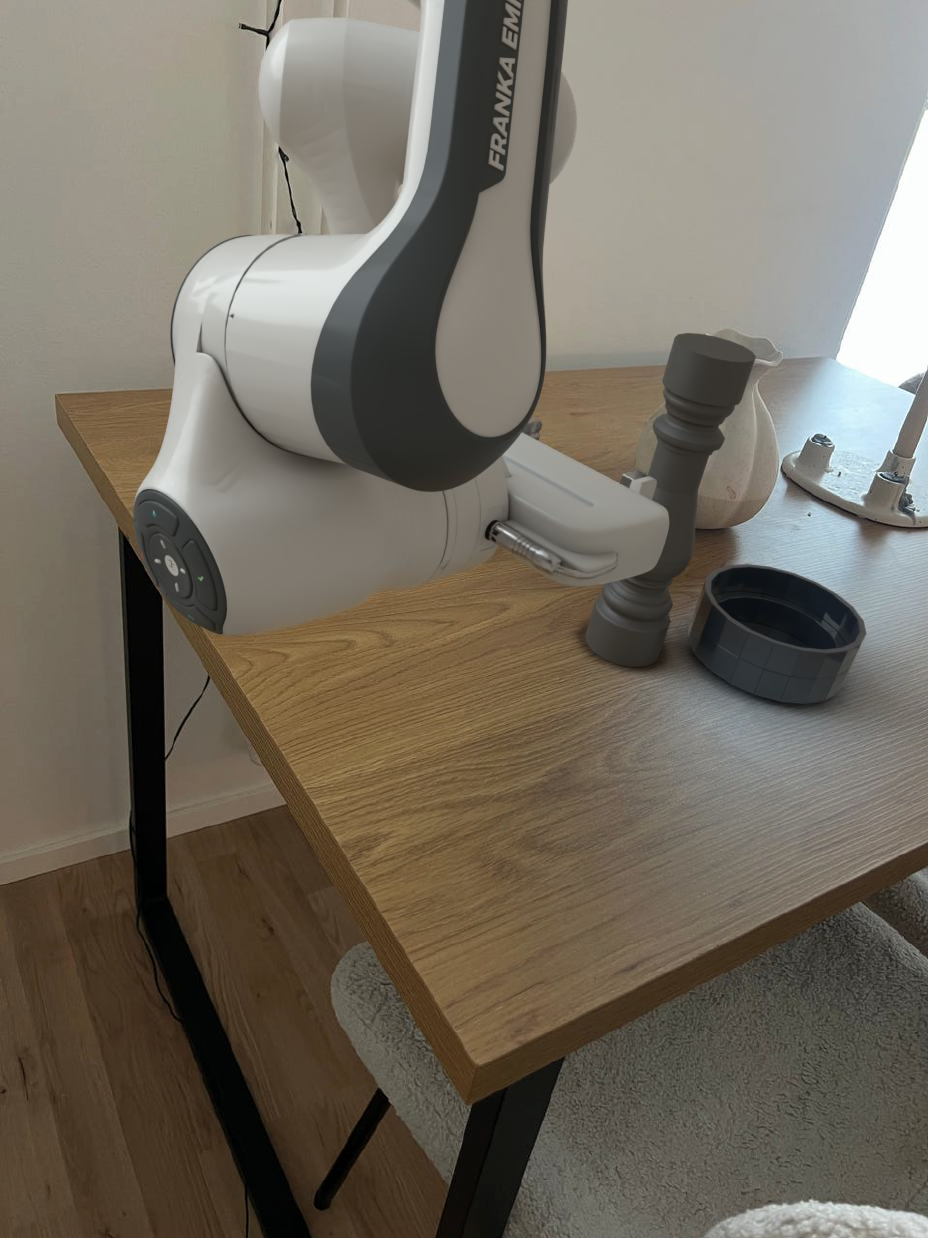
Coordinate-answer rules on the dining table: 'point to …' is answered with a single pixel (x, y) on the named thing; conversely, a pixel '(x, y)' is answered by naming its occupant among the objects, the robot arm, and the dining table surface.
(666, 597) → the candle holder
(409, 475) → the robot arm
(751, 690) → the bowl
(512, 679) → the dining table surface
